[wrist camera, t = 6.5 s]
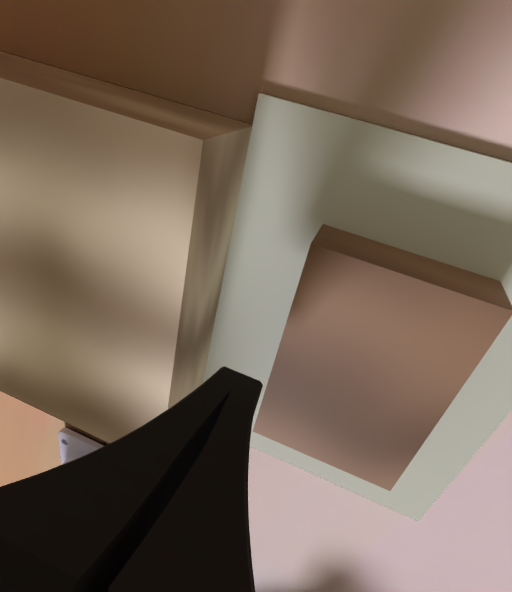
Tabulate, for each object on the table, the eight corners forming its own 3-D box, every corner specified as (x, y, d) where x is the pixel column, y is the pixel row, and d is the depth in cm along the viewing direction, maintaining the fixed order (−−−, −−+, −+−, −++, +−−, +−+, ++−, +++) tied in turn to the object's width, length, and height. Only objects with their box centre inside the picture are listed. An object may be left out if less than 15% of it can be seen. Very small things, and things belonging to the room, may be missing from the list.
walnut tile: (252, 431, 17) (266, 400, 18) (390, 491, 16) (391, 452, 17) (310, 243, 12) (322, 224, 14) (514, 311, 11) (500, 281, 13)
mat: (418, 515, 19) (418, 521, 19) (197, 417, 21) (195, 421, 21) (672, 206, 11) (679, 209, 10) (261, 92, 13) (258, 93, 12)
